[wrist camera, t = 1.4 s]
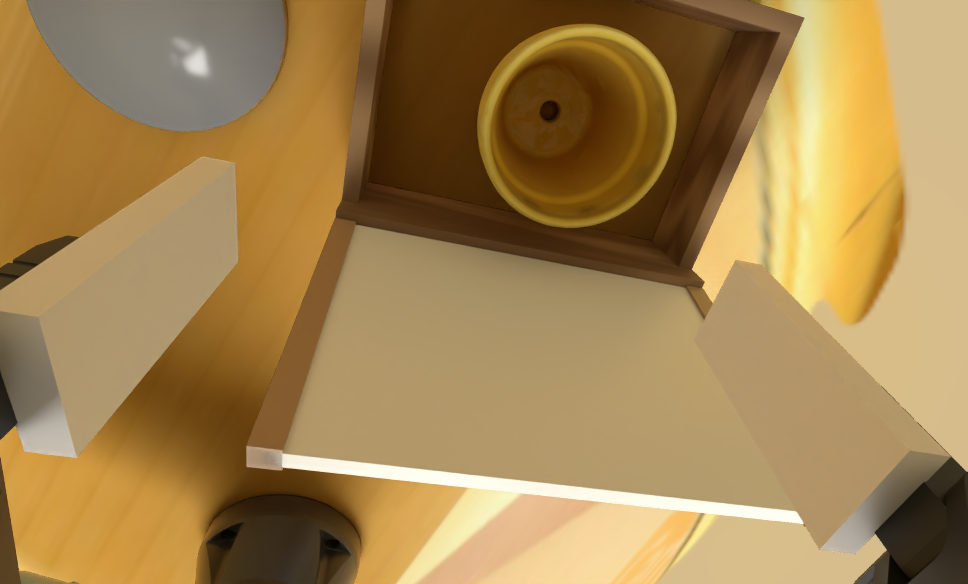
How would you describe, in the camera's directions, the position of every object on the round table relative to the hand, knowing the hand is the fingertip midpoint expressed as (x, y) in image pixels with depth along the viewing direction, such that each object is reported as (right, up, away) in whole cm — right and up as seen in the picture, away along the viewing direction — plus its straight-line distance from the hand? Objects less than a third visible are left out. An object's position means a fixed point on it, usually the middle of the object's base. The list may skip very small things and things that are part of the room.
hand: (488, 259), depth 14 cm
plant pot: (+4, +12, +22) cm, 25 cm away
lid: (+2, 0, +20) cm, 20 cm away
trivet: (-19, +16, +17) cm, 30 cm away
